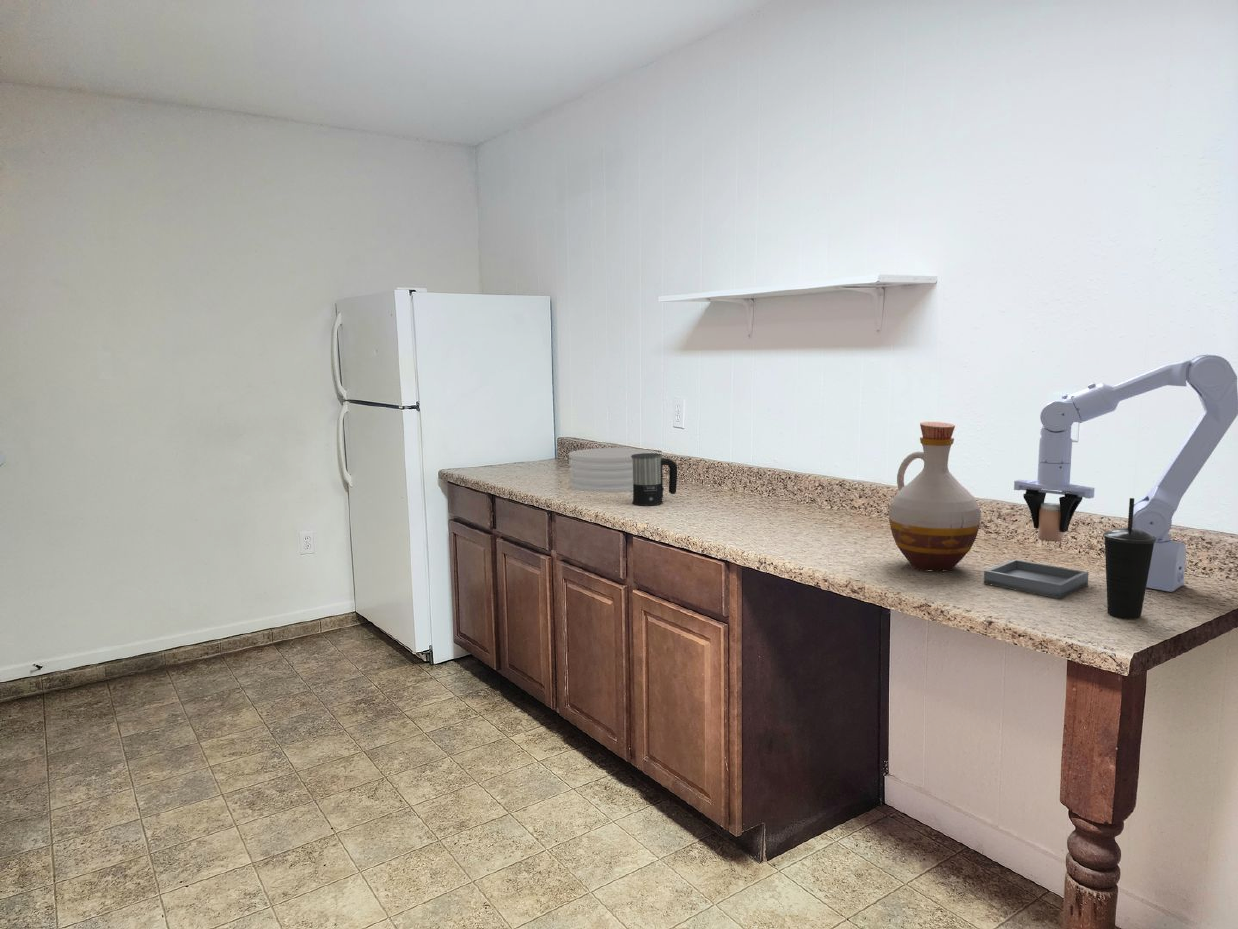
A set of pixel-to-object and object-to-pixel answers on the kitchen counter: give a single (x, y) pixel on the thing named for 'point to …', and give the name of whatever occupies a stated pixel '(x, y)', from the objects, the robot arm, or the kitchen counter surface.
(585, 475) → the plate stack
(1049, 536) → the shaker
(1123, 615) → the drinking cup
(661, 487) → the milk frother
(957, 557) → the jug
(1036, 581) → the tray
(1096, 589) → the kitchen counter surface
